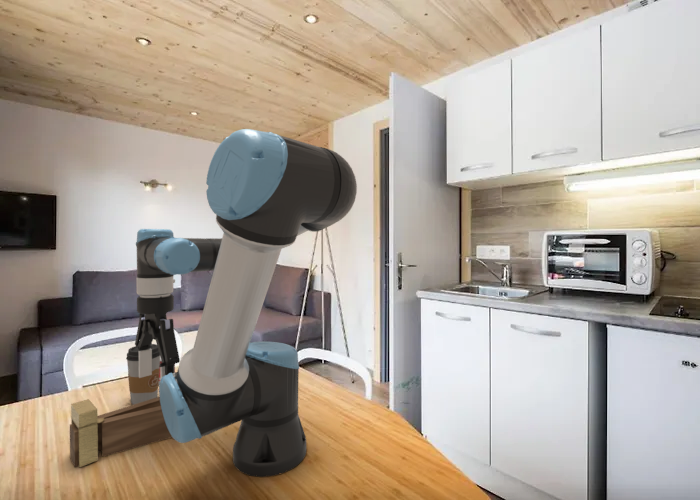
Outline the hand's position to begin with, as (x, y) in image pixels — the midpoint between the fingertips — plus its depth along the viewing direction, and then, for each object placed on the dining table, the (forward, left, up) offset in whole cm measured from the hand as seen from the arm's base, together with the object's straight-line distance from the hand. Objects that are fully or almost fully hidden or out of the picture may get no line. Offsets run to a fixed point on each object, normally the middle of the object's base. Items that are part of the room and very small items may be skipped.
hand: (155, 384), depth 81 cm
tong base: (0, +5, -11) cm, 12 cm away
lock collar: (0, +14, -11) cm, 18 cm away
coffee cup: (+18, -3, -11) cm, 22 cm away
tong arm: (-4, +3, -11) cm, 12 cm away
